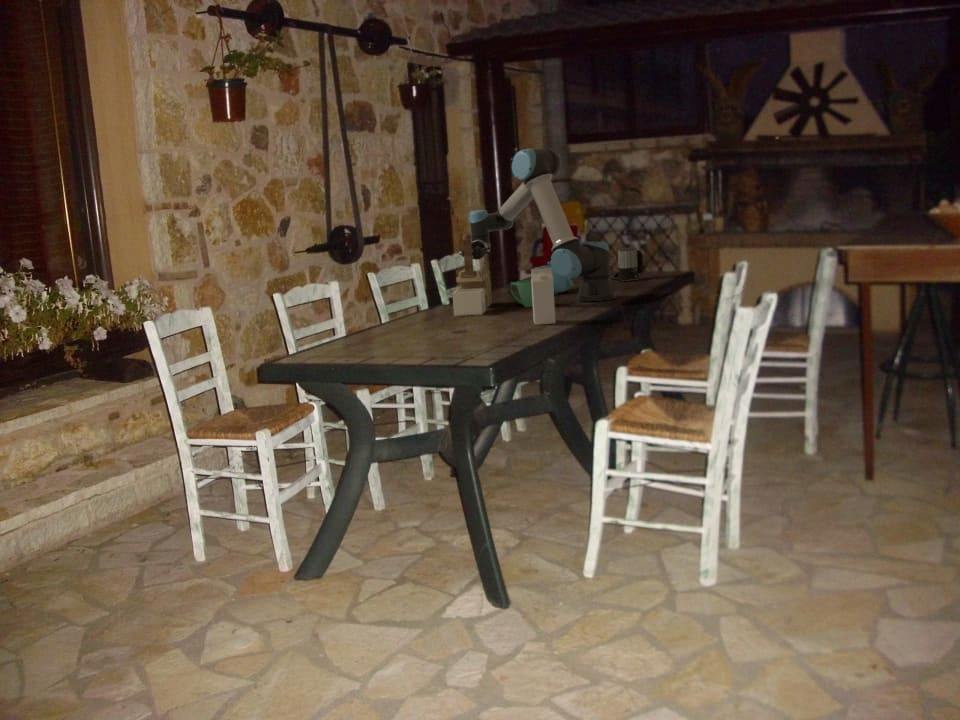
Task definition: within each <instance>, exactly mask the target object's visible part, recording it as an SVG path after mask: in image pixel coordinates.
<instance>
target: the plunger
mask: <svg viewBox="0 0 960 720" xmlns="http://www.w3.org/2000/svg"><path fill="white" fill-rule="evenodd" d="M471 243H472V241H471V234H469V233H464V235H462V244H463V245H462V247H463V248H462V249H464V257H463V259H464V261H463V262H464V269H465V271H463V272H462V278H464V277H476V272H477V270H474V263H473V260H474V259H472V246H471Z"/></svg>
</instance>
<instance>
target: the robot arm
mask: <svg viewBox="0 0 960 720" xmlns="http://www.w3.org/2000/svg"><path fill="white" fill-rule="evenodd" d="M561 169H562V160H561V157H560V155H559V153H558V152H557V151H556V150H554V149H553V148H549V147H542V148H530V147H529V148H526V149H521V150H519V151H517V152H516V153H515V154H514V156H513V158H512V163H511V171H512V174H513V176H514V177H515V179H516V180H517V179H518V180H519V181H522V183H521V184H520V185H519V186H518V187H517V189H516V190H515V191H514V192H513V193H512V194H511V195H510V196H509V197H508V199H507V200H506V201H505V202H504V203H503V204H502V206H501V207H500V208H499V209H498V210H497V211H495V212H494V213H488V210H487V209H476V210H471V211H470V213H469V223H470V225H469V227H470V236H471V246H472V260H481V259H482V258H483V257H485V256H487V255H490V254H491V250H492V249H491V247H492V246H491V242H490V232H496V231H506V230H509V229H511V228H513V226H514V223H515V218H516V217H517V216H518V215H519V214H520V213H521V212H522V211H523V210H524V208H526V207H527V206H528V204H530V202H531V201H532V199H534V201H535V204H536V206H537V209H538V211H539V213H540V216H541V218H542V221H543V223H544V226H545V228H546V231H547V232H548V235H549V237H550V241H551V242H552V247H551V253H552V254H551V257H550V259H551V260H550V262H551V266H552V269H553V271H554V272H555V273H556V274H557V275H558V276H559V277H562V278H571V279H576V278H579V277H580V283H579V286H578V292H577V295H576V296H577V297H576V299H577V301H578V302H583V301H588V302H589V301H590V302H589V303H591V301H598V302H605V301H604V300H607V301H611V300H610V299H612V300H614V298H615V299H616V292H615V289H614V286H613V283H612V281H611V278H610V276H611V271H610V270H611V267H610V266H611V265H610V264H611V263H610V248H609V244H608V243H607V242H604V241H581V240H580V238H579V237H577V236H574V233H573V231H572V229H571V226H570V223H569V221H568V219H567V216H566V214H565V212H564V210H563V207H562V205H561V201H560V200H559V197H558V196H557V193H556V190H555V187H554V185H553V183H552V182H553V181H554V180H555V179H556V177H558V175H559V173H560V172H561ZM458 253H459V256H461V257H463V258H464V249H463V248H459V252H458Z"/></svg>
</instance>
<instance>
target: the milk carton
mask: <svg viewBox="0 0 960 720" xmlns="http://www.w3.org/2000/svg"><path fill="white" fill-rule="evenodd" d="M530 272H531V273H530V280H531V286H532V302H533V307H532V319H533V323H534V325H536V326H538V325H539V326H540V325H548V324H549V325H551V324H552V325H553V324H556V309H555V295H554V288H553V276H552V268H544V269H534V268H532V269H530Z"/></svg>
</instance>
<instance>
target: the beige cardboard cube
mask: <svg viewBox="0 0 960 720" xmlns="http://www.w3.org/2000/svg"><path fill="white" fill-rule="evenodd" d="M451 296H452V306H453V316H454V317H467V316H468V315H469V316H470V317H471V315H473V316H482V315H484V314H485V313H486V311H487V308H486V304H485V290H484V288H474V289H461V288H459V289H455V290H454V291H453V292H452V295H451ZM469 316H468V317H469Z"/></svg>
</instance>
